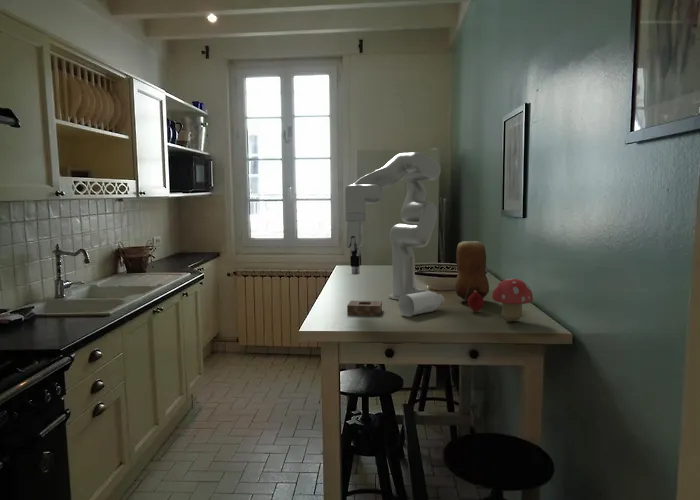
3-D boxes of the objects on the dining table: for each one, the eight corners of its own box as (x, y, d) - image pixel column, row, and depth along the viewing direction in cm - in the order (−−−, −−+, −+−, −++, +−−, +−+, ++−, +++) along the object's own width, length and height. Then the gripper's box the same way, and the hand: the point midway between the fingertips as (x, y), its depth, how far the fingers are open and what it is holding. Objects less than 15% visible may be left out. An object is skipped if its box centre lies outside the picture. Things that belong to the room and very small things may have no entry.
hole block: (381, 310, 199) (381, 301, 199) (379, 315, 191) (379, 306, 190) (350, 309, 201) (350, 300, 201) (347, 314, 192) (347, 305, 192)
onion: (484, 310, 196) (484, 289, 196) (482, 314, 191) (483, 292, 190) (468, 309, 198) (468, 289, 197) (466, 313, 193) (466, 291, 192)
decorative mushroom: (504, 315, 189) (505, 274, 187) (539, 321, 179) (540, 278, 177) (483, 321, 180) (484, 278, 178) (519, 328, 170) (520, 283, 168)
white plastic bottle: (448, 311, 197) (449, 290, 196) (413, 318, 186) (413, 296, 185) (433, 307, 203) (433, 287, 203) (397, 314, 192) (398, 293, 191)
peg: (360, 273, 200) (360, 247, 199) (358, 274, 197) (358, 248, 196) (352, 273, 200) (352, 247, 199) (351, 274, 197) (350, 248, 196)
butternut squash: (471, 296, 223) (471, 238, 220) (495, 302, 212) (496, 240, 209) (447, 300, 215) (447, 240, 212) (471, 306, 204) (472, 242, 201)
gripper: (349, 216, 205) (350, 263, 207) (341, 218, 189) (341, 268, 191) (368, 216, 203) (369, 263, 205) (361, 218, 187) (361, 269, 189)
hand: (355, 265), depth 198 cm, fingers closed on peg, 3 cm apart
